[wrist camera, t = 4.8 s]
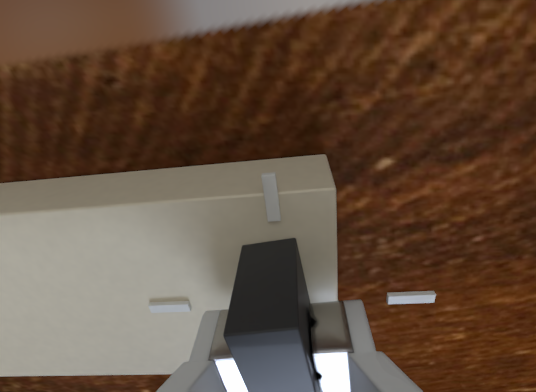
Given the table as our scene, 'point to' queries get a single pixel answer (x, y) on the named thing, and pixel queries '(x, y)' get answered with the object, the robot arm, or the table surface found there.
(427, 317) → the table surface
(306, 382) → the dark grey red-tipped block
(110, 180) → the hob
